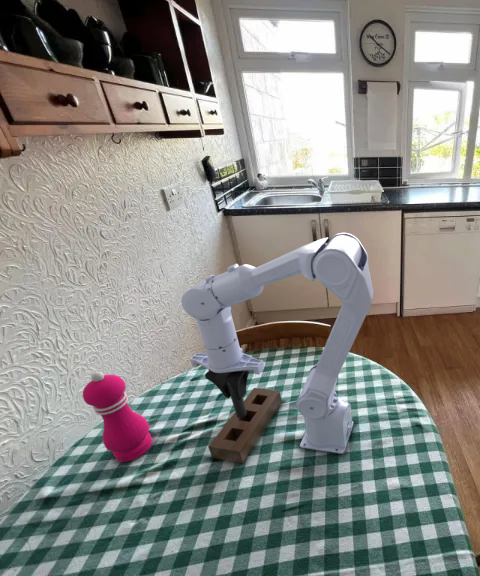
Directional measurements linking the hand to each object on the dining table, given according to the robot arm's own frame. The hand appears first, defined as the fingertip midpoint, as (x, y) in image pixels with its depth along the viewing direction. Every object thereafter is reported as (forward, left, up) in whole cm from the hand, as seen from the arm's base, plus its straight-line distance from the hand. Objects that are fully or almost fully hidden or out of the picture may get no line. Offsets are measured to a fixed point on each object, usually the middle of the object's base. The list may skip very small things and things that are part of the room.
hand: (236, 395), depth 64 cm
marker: (0, 0, -5) cm, 5 cm away
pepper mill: (+20, +8, -10) cm, 24 cm away
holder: (-1, -1, -10) cm, 10 cm away
